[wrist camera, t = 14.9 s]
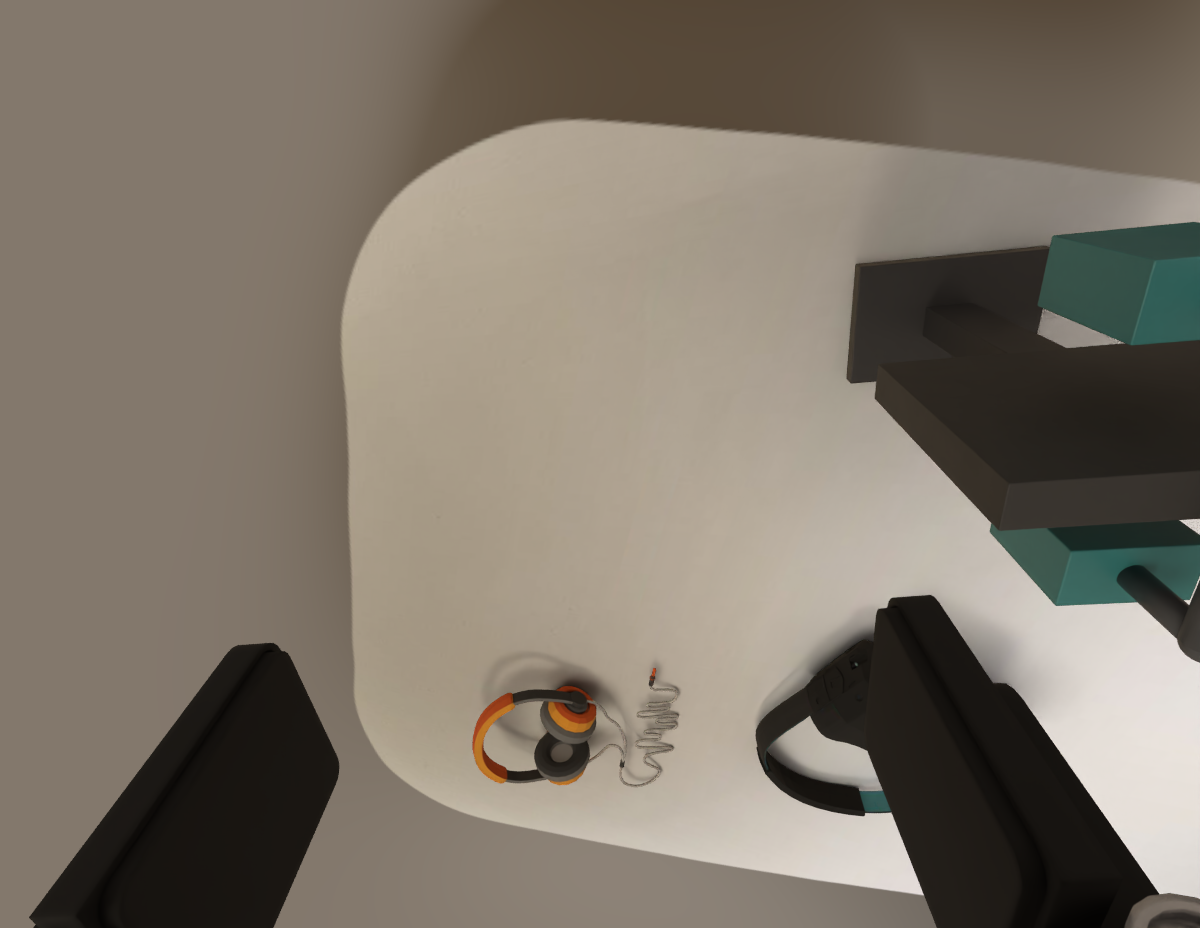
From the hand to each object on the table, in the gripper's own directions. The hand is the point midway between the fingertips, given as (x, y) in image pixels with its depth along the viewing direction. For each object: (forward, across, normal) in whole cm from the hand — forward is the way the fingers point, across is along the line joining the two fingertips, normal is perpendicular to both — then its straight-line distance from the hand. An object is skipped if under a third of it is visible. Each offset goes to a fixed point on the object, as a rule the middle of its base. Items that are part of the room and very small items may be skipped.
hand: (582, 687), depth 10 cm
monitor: (+36, -22, +6) cm, 43 cm away
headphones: (+36, +8, +42) cm, 56 cm away
